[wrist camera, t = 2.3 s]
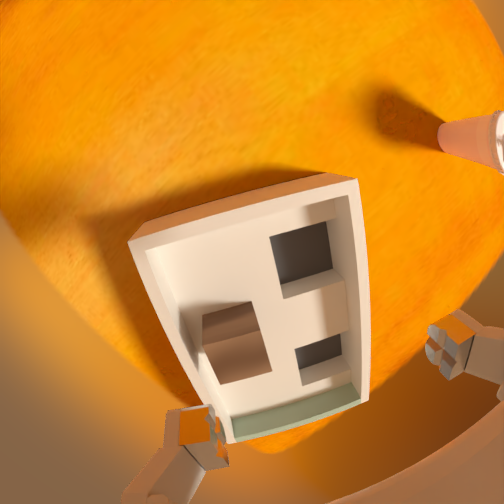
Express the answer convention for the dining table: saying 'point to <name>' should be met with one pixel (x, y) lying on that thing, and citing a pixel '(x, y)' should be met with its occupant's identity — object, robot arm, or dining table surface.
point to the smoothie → (475, 139)
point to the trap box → (269, 297)
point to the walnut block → (234, 343)
